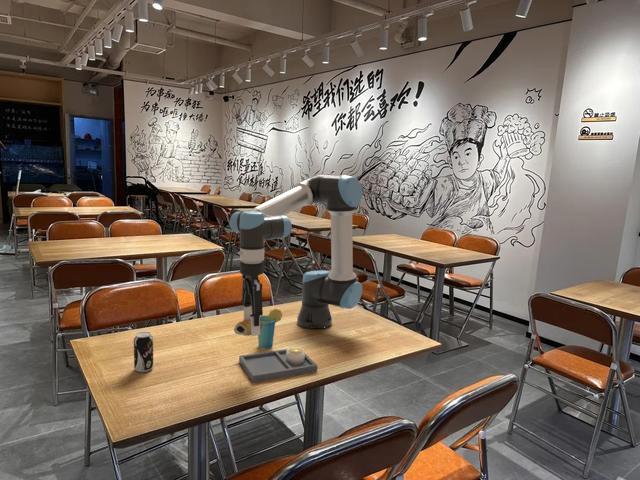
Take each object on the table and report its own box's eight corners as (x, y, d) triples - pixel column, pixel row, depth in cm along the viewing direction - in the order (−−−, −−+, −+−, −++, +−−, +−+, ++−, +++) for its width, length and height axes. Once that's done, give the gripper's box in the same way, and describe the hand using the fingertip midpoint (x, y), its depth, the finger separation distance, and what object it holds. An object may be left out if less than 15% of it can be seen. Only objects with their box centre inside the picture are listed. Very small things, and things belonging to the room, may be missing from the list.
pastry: (252, 324, 148) (252, 313, 148) (267, 329, 145) (267, 318, 144) (232, 333, 140) (232, 321, 140) (247, 338, 137) (247, 326, 136)
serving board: (239, 361, 151) (239, 348, 151) (298, 352, 161) (298, 340, 160) (253, 382, 137) (253, 367, 136) (317, 371, 147) (317, 357, 146)
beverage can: (141, 375, 139) (141, 338, 137) (130, 370, 142) (129, 334, 140) (157, 368, 144) (156, 333, 142) (145, 364, 147) (145, 329, 145)
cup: (250, 353, 158) (251, 313, 156) (241, 346, 165) (242, 307, 162) (284, 346, 166) (286, 308, 164) (274, 339, 172) (275, 302, 170)
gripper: (231, 255, 146) (232, 321, 150) (249, 269, 128) (249, 344, 131) (254, 254, 149) (253, 318, 153) (274, 267, 131) (273, 340, 135)
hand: (251, 330), depth 142 cm, fingers closed on pastry, 8 cm apart
